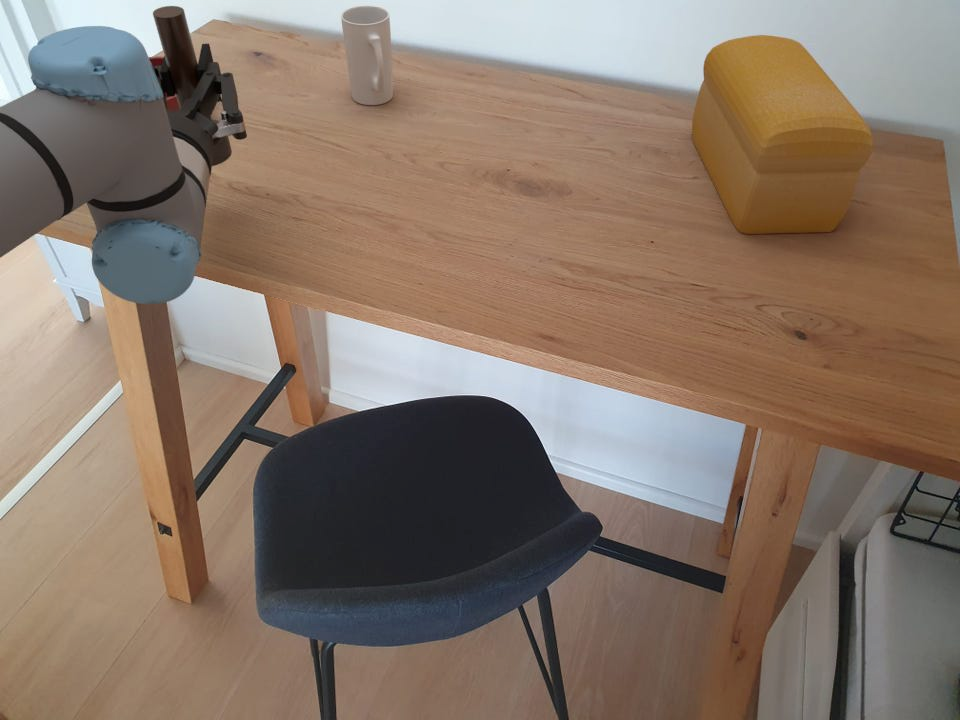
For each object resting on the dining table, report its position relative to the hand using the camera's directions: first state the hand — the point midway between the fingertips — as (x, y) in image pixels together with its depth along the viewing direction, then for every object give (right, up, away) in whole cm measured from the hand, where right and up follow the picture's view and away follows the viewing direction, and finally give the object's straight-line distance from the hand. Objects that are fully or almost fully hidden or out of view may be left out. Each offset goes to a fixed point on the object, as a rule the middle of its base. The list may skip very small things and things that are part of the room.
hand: (191, 56), depth 85 cm
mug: (+17, +5, +30) cm, 34 cm away
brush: (+1, -10, +3) cm, 11 cm away
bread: (+69, -10, +16) cm, 71 cm away
